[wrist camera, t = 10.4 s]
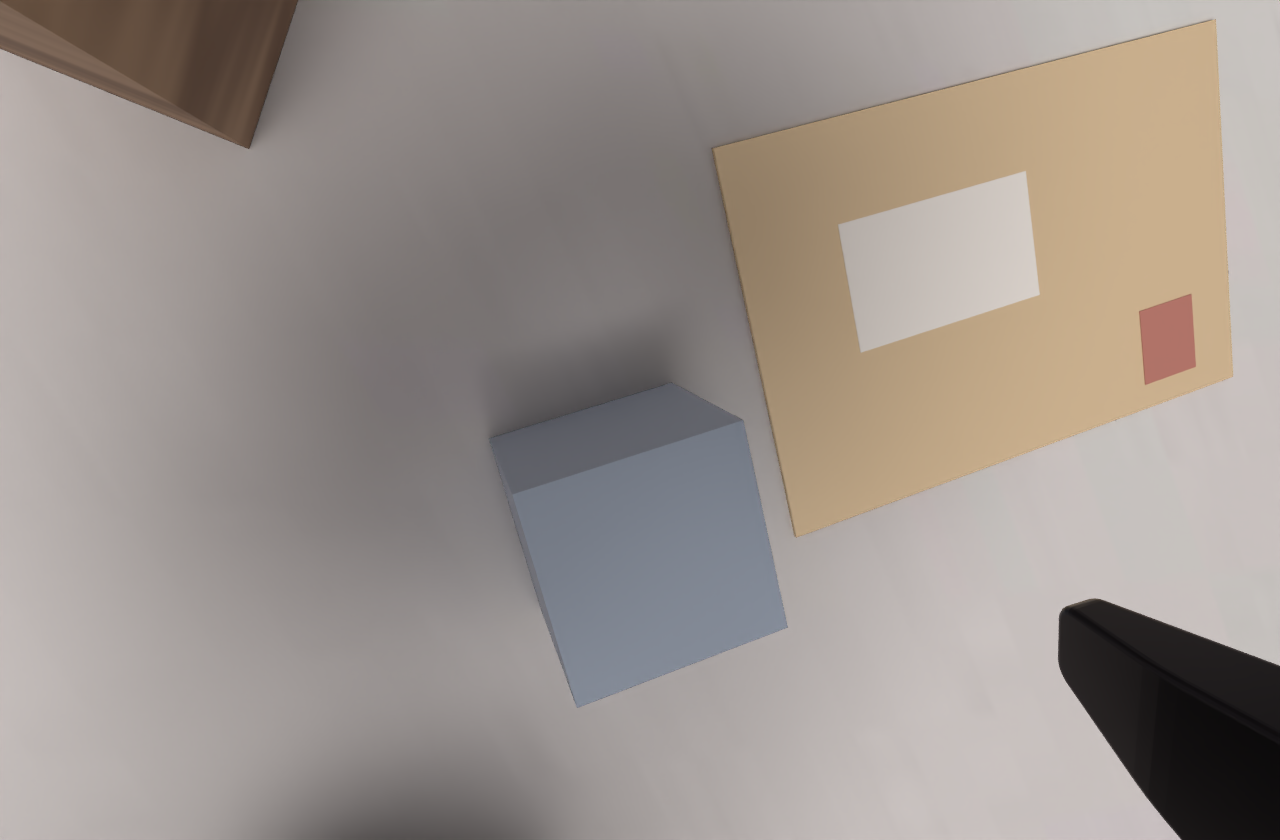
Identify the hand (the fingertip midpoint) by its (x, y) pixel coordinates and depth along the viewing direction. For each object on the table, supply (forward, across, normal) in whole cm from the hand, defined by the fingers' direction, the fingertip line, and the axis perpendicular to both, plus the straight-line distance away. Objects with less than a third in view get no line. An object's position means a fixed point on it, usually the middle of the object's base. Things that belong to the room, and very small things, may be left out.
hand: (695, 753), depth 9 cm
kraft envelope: (+14, -13, +2) cm, 20 cm away
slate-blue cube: (+12, 0, +4) cm, 13 cm away
